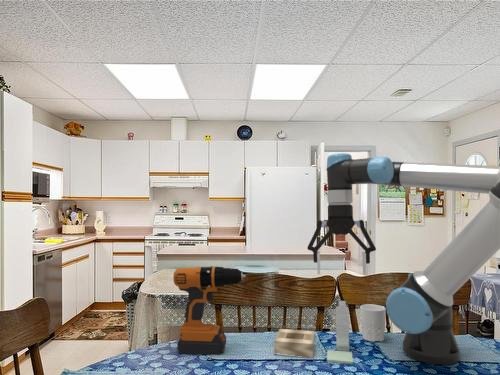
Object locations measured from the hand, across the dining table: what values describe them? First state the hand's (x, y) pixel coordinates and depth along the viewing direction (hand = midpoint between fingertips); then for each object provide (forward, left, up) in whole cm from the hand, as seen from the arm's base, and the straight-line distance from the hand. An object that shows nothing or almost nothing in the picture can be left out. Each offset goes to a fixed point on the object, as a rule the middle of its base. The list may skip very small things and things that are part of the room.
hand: (341, 274), depth 116 cm
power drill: (+39, +9, -23) cm, 46 cm away
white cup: (-10, -12, -23) cm, 27 cm away
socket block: (+14, +3, -23) cm, 27 cm away
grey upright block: (0, -1, -23) cm, 23 cm away
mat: (+1, +7, -23) cm, 24 cm away
